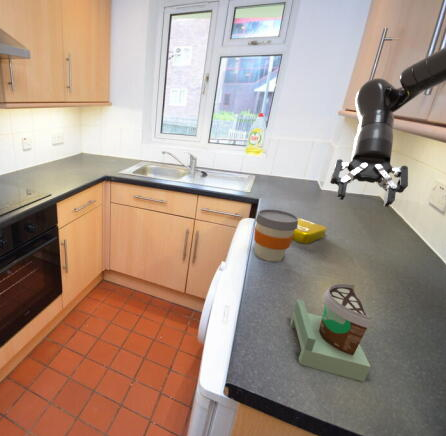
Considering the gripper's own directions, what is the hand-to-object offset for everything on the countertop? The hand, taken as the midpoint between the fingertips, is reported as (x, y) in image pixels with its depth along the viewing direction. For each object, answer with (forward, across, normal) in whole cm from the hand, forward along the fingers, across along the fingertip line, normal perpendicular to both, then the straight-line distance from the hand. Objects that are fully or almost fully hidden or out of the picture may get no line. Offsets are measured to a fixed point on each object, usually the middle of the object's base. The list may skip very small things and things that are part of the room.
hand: (364, 201), depth 70 cm
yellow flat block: (-12, -9, +53) cm, 55 cm away
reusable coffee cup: (+6, -17, +34) cm, 39 cm away
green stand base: (+35, -2, +6) cm, 35 cm away
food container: (+32, -2, +3) cm, 32 cm away
